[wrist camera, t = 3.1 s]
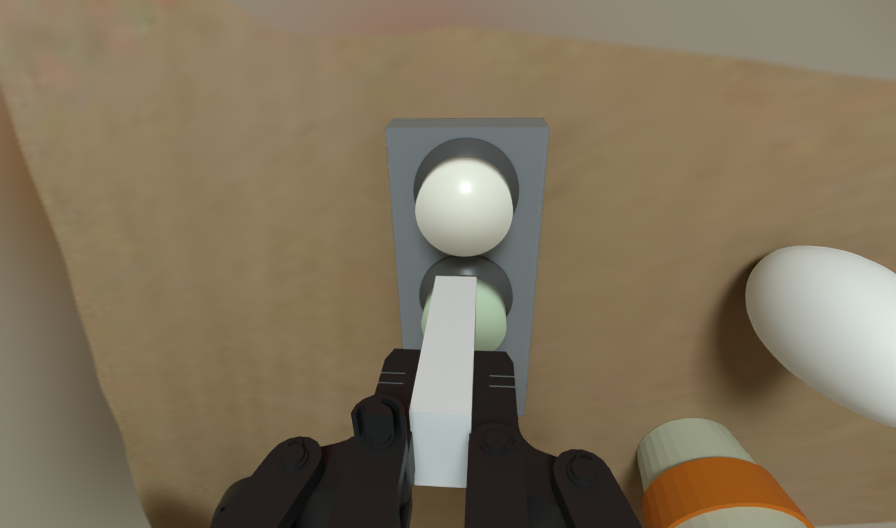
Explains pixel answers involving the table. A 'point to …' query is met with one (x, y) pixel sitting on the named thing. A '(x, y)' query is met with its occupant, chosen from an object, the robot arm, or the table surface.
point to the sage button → (482, 315)
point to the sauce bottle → (830, 324)
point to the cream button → (464, 206)
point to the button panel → (504, 266)
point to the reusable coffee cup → (708, 481)
